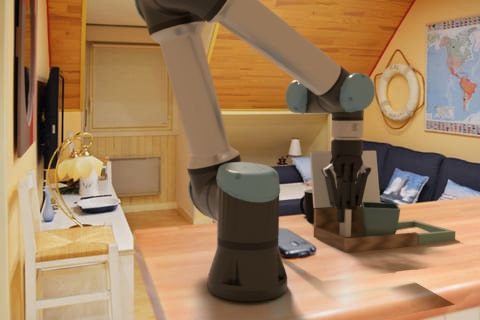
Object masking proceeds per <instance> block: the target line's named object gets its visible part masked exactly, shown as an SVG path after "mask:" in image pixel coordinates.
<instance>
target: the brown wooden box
mask: <svg viewBox="0 0 480 320" xmlns="http://www.w3.org/2000/svg"><path fill="white" fill-rule="evenodd" d="M339 232H340V222H338V221H337V208H336V207H335V208H320V209H314V223H313V238H315V239H316V240H318V241H320V242H322V243H325V244H326V245H328V246H331V247H332V248H336V249H338V250H339V251H342V252H345V253H347V254H348V253H355V252H357V253H358V252H366V251H377V250H385V249H395V248H405V247H407V248H408V247H415V246H419V245H418V233H419V232H415V231H414V232H403V233H401V232H400V233H395V234H390V235H379V236H368V237H367V236H360V237H349V238H348V237H345V236H342V235H340V234H339ZM364 232H365V229H364V225H363V220H362V208H361V206H357V209H356V210H354V220H353V222H351V234H355V233H356V234H357V233H364Z"/></svg>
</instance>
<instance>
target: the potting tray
mask: <svg viewBox="0 0 480 320" xmlns="http://www.w3.org/2000/svg"><path fill="white" fill-rule="evenodd" d="M408 227H416V228H418V229H419V230H423V231H426V232H420V233H419V232H417V233H418V245H417V246H421V245H428V244H436V243H442V242H443V243H444V242H450V241H455V240H456V230H452V229H448V228H444V227H441V226H438V225H433V224H429V223H425V222H424V221H423V222H422V221H418V220H404V221H403V220H402V221H399V222H398V227H397V229H398V228H399V229H400V228H408ZM454 239H455V240H454ZM449 240H450V241H449Z"/></svg>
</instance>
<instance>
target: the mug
mask: <svg viewBox="0 0 480 320" xmlns="http://www.w3.org/2000/svg"><path fill="white" fill-rule="evenodd" d="M299 208H300V211H301V213H302V214H303V215H304V216H305V219H306V221H307V222H309V223H311V224H314V209H320V208H314V207H313V192H312V188H309V189H305V190H304V194H303V196H302V197H301V199H300V200H299ZM324 208H336V207H324Z"/></svg>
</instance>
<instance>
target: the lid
mask: <svg viewBox="0 0 480 320" xmlns="http://www.w3.org/2000/svg"><path fill="white" fill-rule="evenodd" d="M361 157H362V160H363V164H364V165H365V166H366V167H370V168H371V172H370V174H369V175H368V177H367V182H366V186H365V190H364V195H363V199H362V202H376V203H381V195H380V193H381V192H380V184H379V171H378V168H379V167H378V158H377V157H378V156H377V150H363V154H362V156H361ZM309 159H310V160H309V161H310V175H311V189H312V192H313V207H314V208H324V207H333V206H331V205H330V201H329V196H328V191H327V186H326V181H325V177H324V175H323V173H322V172H321V169H322V168H326V167H327V166H329V165H330V161H331V159H332V154H331V150H329V151H328V150H326V151H322V150H321V151H318V150H317V151H313V150H312V151H309ZM333 172H334V170H333ZM358 173H359V171H358ZM358 173H357V176H358ZM333 175H334V178H335V183H336V188H337V181H336V173H335V172H334V174H333Z"/></svg>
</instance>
